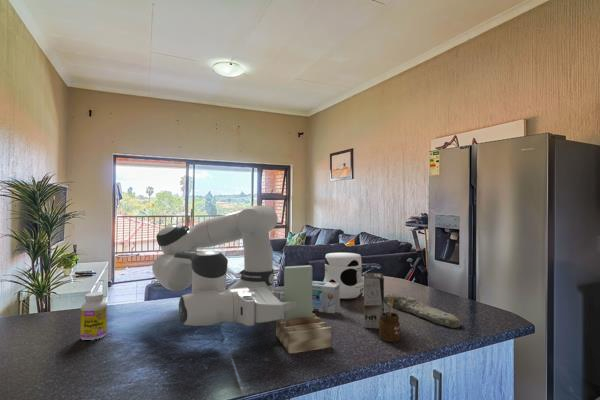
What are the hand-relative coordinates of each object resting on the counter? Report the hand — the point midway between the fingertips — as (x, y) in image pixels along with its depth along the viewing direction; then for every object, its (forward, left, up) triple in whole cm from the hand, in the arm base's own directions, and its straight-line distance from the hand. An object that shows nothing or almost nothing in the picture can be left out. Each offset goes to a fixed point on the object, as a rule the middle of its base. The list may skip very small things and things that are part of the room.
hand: (290, 299), depth 96 cm
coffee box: (+18, +25, -12) cm, 34 cm away
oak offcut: (+7, -3, -11) cm, 13 cm away
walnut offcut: (+4, -1, -11) cm, 12 cm away
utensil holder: (+25, +15, -12) cm, 32 cm away
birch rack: (+4, -1, -12) cm, 13 cm away
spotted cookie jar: (-1, +51, -12) cm, 53 cm away
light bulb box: (-1, +28, -12) cm, 31 cm away
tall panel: (+2, +2, -11) cm, 11 cm away
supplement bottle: (-55, -22, -12) cm, 60 cm away
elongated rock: (+30, +44, -13) cm, 55 cm away
